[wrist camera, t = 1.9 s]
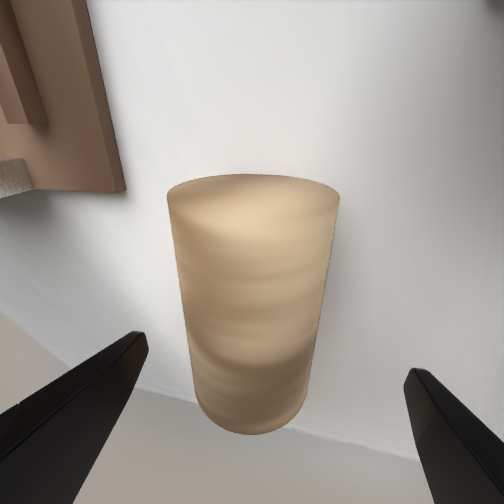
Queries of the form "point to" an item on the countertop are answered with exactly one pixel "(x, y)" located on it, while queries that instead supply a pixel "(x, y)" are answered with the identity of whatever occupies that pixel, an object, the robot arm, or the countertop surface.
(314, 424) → the countertop surface
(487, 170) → the countertop surface
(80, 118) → the holder stand
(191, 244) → the paper roll
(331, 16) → the countertop surface
